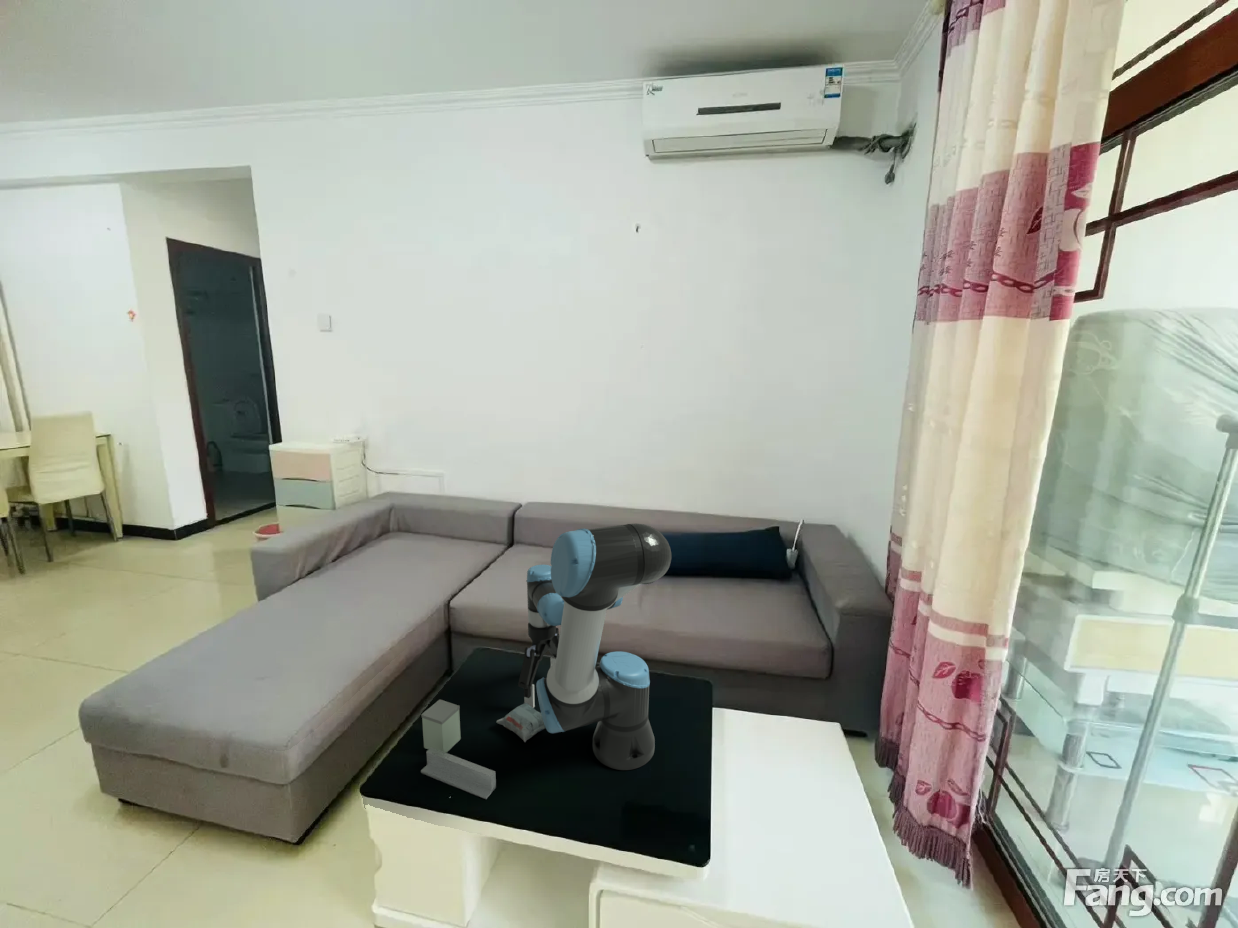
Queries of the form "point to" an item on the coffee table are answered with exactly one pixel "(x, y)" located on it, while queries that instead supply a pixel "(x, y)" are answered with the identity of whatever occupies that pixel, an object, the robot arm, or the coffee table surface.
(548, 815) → the coffee table surface
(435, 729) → the tea tin
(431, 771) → the rail
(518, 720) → the packaged food
